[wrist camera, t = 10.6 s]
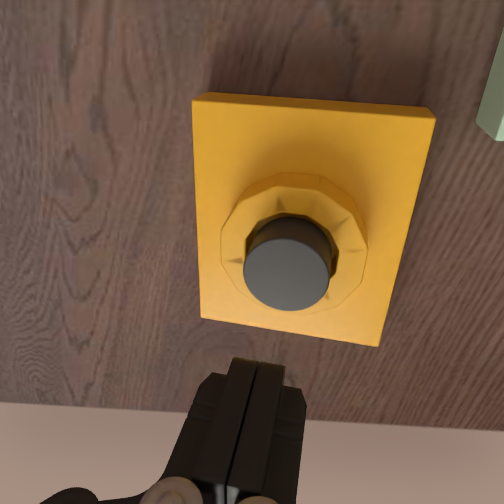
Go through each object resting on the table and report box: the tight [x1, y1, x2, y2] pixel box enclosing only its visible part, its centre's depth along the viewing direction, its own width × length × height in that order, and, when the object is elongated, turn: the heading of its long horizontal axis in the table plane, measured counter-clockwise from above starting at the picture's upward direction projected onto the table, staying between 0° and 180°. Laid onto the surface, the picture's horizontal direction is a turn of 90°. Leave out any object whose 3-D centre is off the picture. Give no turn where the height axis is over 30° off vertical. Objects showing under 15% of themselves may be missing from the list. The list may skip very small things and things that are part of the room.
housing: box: [192, 92, 436, 347], centre depth 20 cm, size 12×10×4 cm
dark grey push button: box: [243, 217, 332, 311], centre depth 18 cm, size 4×4×2 cm
